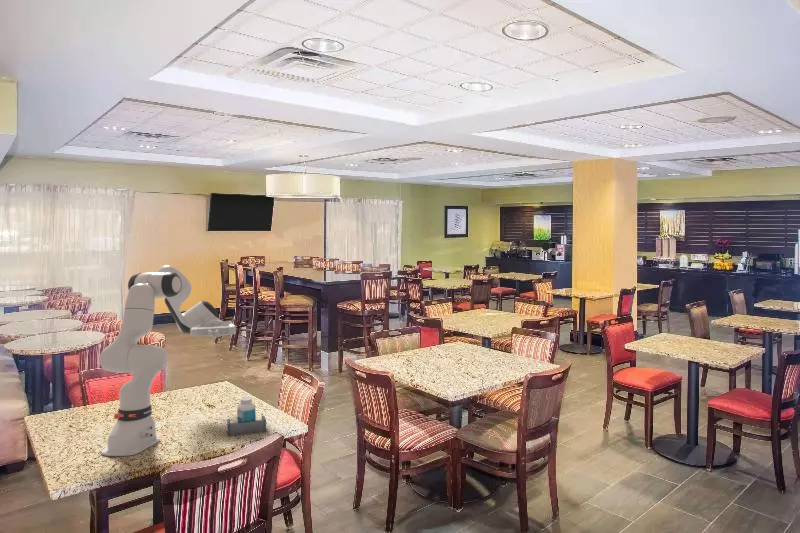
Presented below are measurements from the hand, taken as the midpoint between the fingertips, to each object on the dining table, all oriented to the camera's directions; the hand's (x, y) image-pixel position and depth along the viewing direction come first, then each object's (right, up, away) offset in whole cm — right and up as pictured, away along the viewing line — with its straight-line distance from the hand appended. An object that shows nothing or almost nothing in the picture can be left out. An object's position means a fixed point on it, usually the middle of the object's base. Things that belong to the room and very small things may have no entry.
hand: (213, 333), depth 255 cm
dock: (+20, -39, -19) cm, 48 cm away
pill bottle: (+20, -39, -17) cm, 47 cm away
